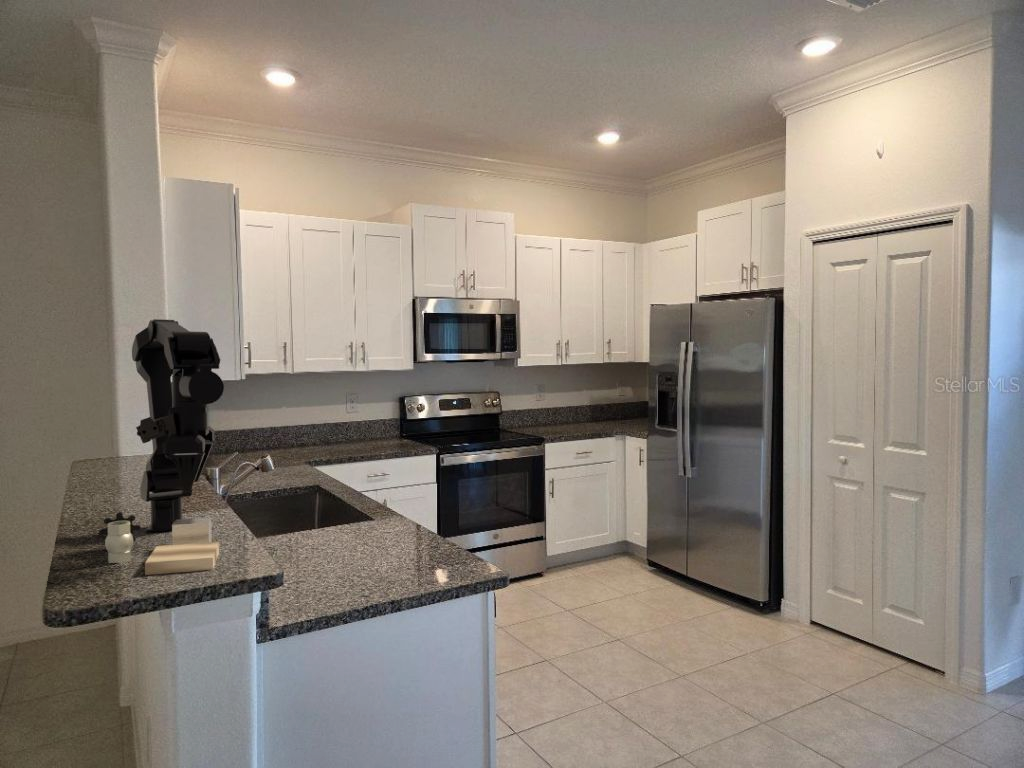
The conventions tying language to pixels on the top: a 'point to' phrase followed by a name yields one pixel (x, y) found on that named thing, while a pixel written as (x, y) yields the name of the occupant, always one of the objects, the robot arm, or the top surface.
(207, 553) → the oak plate
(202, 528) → the aluminium block
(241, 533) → the top surface
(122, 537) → the valve
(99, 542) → the top surface
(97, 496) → the top surface
